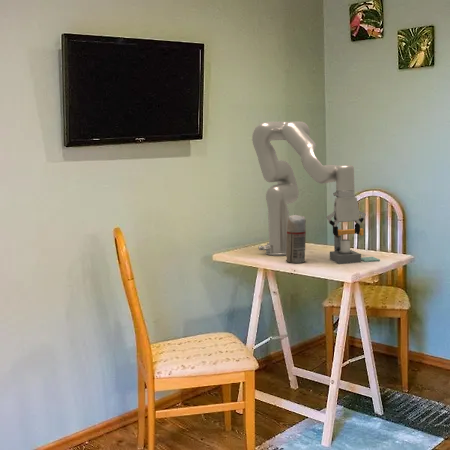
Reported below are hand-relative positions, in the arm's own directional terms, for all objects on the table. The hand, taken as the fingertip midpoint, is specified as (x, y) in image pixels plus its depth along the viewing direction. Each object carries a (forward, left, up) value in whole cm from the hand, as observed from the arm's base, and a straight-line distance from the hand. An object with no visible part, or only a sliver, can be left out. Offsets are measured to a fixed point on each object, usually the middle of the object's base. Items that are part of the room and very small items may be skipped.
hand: (346, 234), depth 282 cm
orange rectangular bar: (+5, +9, -2) cm, 10 cm away
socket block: (0, +1, -11) cm, 11 cm away
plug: (0, +1, -11) cm, 11 cm away
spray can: (-20, +7, -12) cm, 24 cm away
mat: (+10, -1, -11) cm, 15 cm away
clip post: (0, +9, -11) cm, 14 cm away
